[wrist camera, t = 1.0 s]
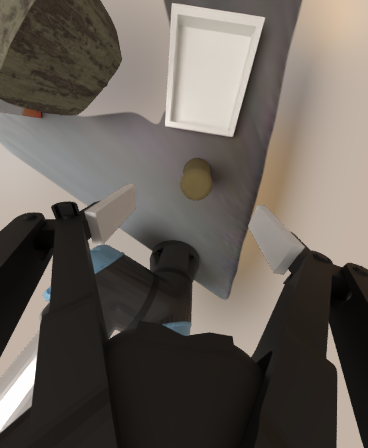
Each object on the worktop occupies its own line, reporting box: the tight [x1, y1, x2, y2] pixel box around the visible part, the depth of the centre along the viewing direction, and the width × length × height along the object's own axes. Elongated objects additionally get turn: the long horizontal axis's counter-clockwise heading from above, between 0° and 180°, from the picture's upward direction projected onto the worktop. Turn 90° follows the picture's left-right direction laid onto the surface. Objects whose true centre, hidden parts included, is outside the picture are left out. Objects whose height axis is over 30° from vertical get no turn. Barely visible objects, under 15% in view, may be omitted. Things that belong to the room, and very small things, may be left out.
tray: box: [165, 3, 265, 137], centre depth 23 cm, size 13×12×3 cm
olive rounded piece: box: [180, 158, 212, 200], centre depth 26 cm, size 6×6×11 cm
